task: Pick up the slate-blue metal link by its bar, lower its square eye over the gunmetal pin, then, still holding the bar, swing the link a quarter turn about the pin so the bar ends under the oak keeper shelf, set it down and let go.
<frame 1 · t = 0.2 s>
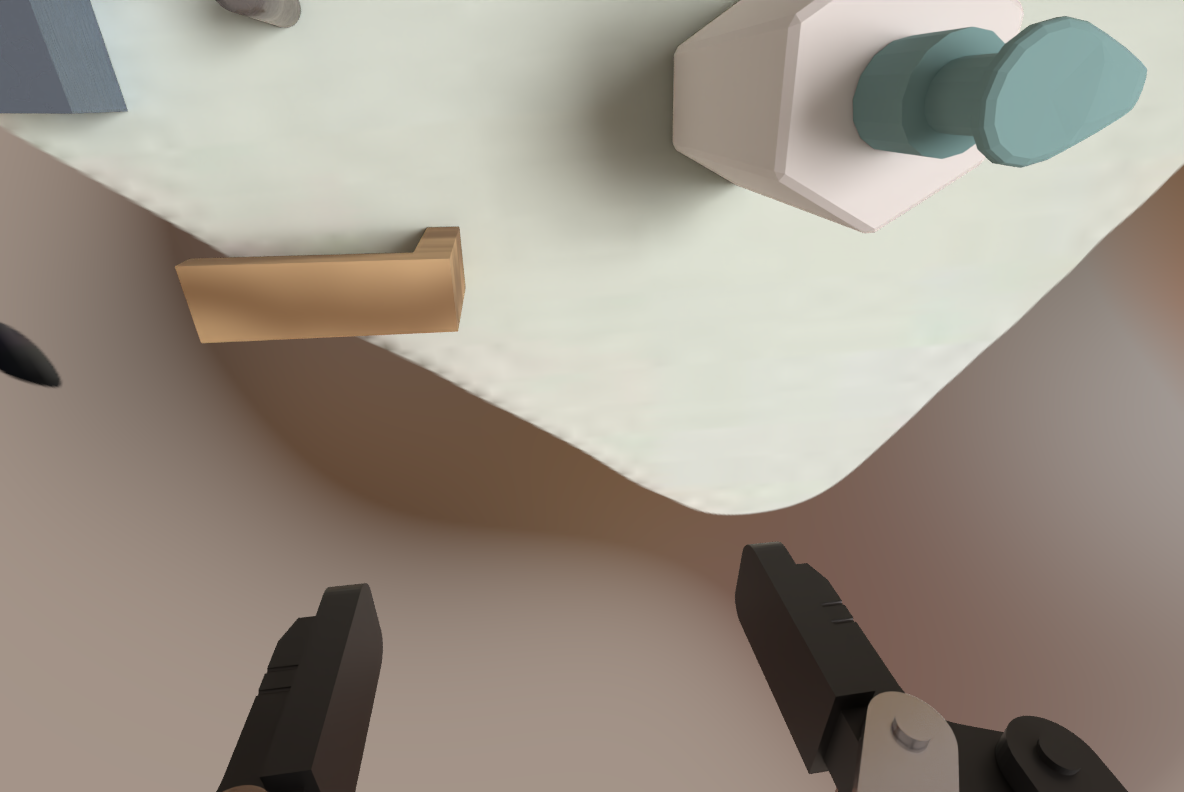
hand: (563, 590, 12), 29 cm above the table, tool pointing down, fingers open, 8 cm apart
soap bottle: (742, 95, 35), on the table
keeper: (343, 278, 32), on the table
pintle: (280, 4, 29), on the table
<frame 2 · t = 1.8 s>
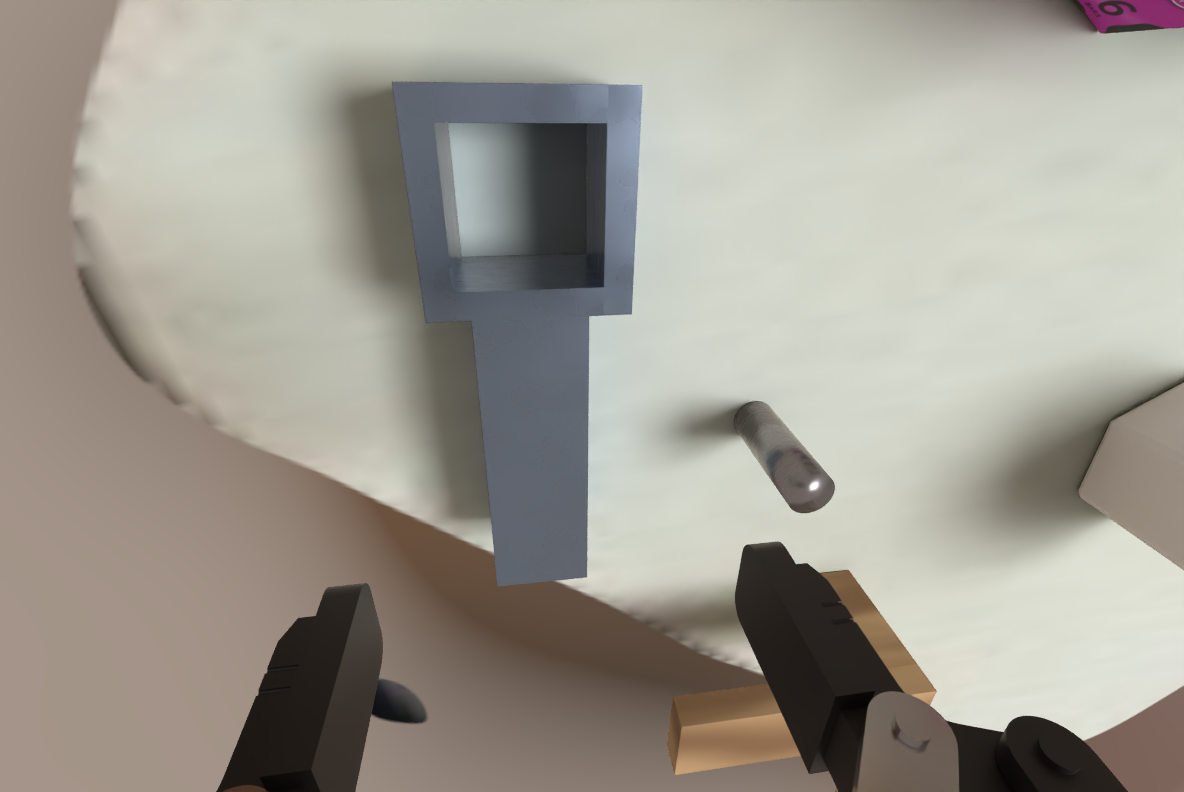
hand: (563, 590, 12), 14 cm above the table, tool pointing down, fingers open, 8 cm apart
link: (528, 336, 24), on the table
soap bottle: (1154, 446, 33), on the table
keeper: (771, 661, 31), on the table
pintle: (753, 418, 28), on the table
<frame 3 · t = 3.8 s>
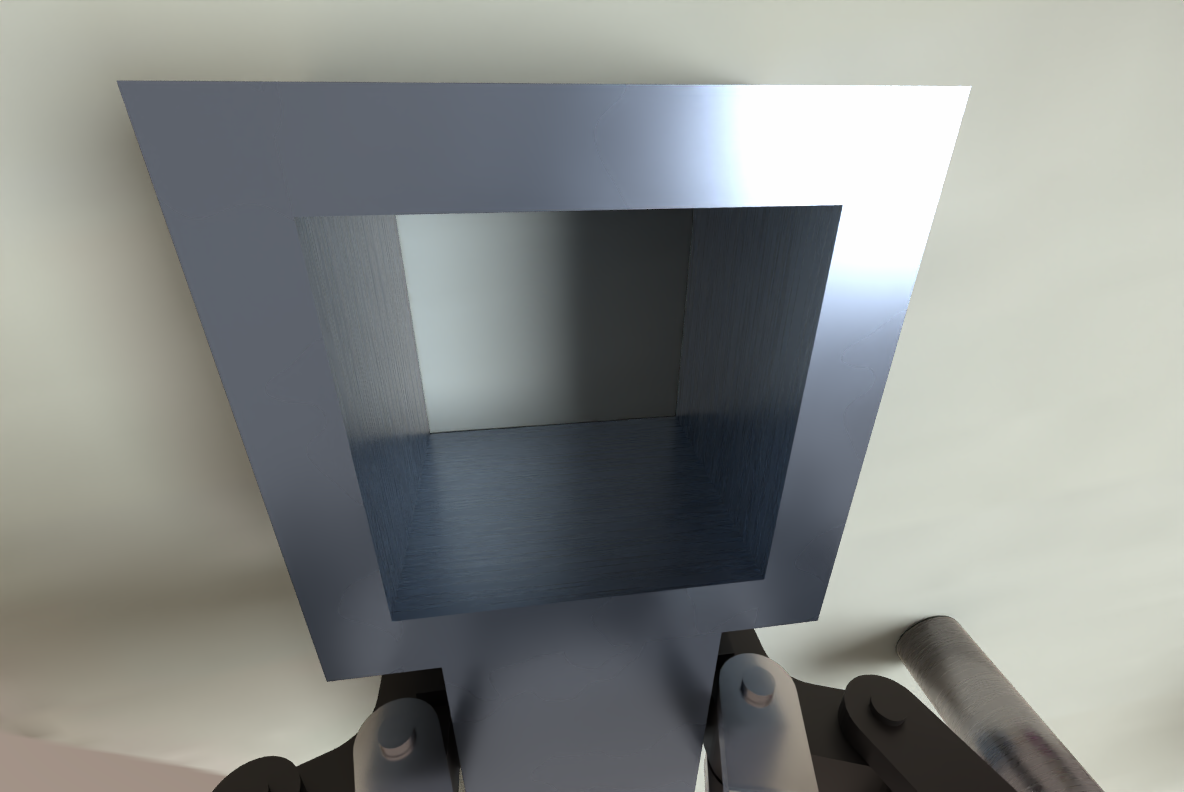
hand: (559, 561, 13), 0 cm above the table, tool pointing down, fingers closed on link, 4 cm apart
link: (560, 553, 13), on the table, touching gripper
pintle: (927, 639, 17), on the table
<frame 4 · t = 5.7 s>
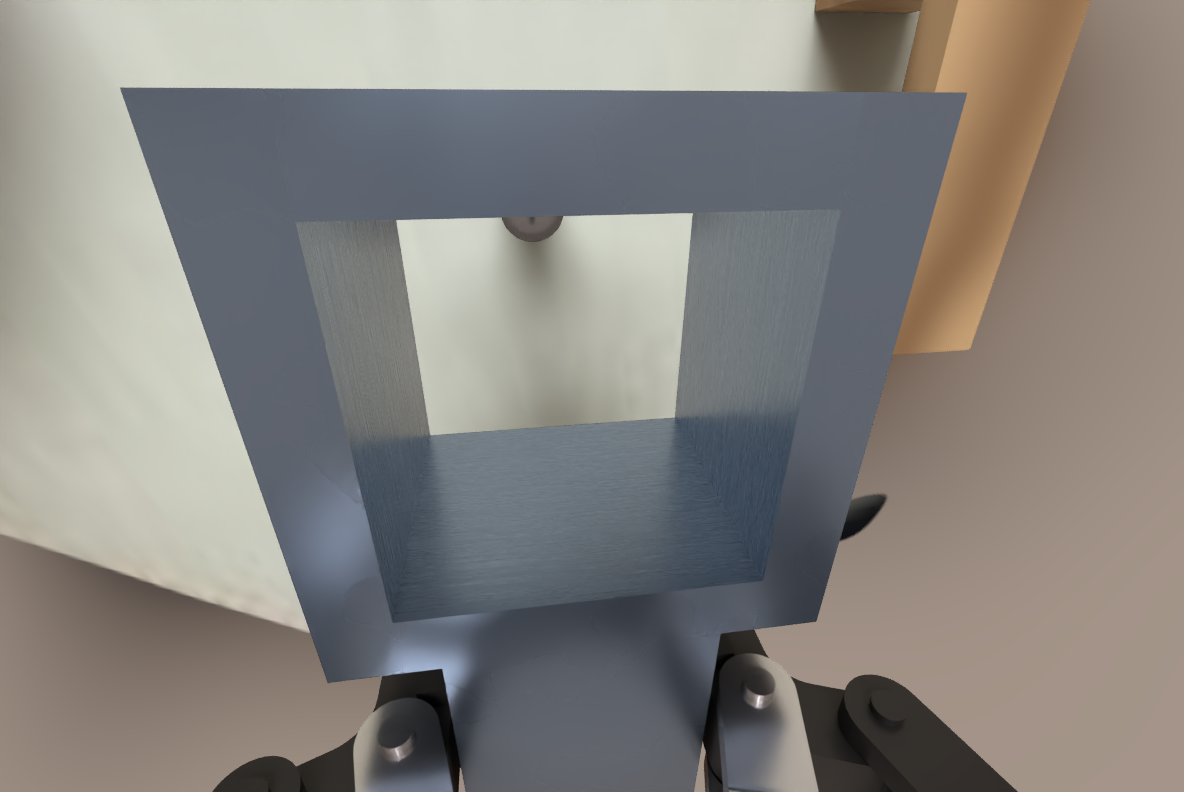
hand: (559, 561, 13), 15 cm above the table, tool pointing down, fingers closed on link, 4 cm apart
link: (559, 553, 13), point 15 cm above the table, touching gripper
keeper: (896, 146, 20), on the table
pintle: (524, 183, 23), on the table
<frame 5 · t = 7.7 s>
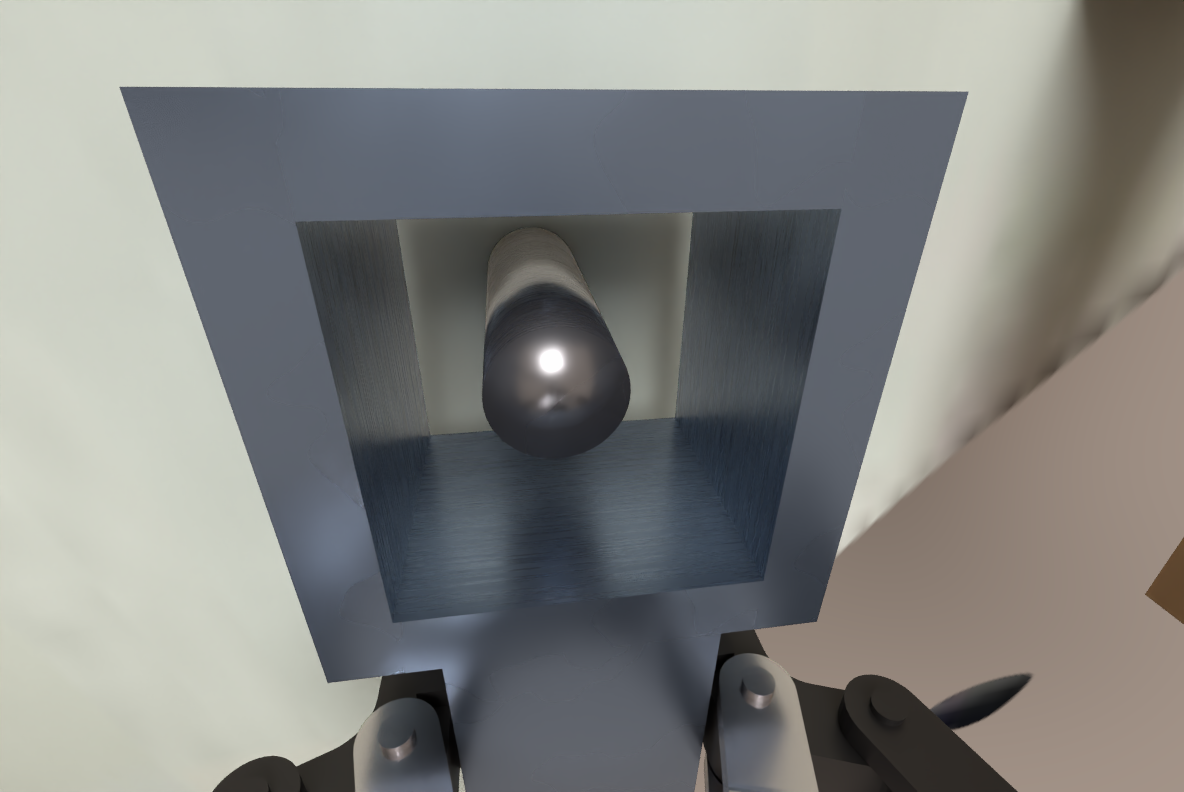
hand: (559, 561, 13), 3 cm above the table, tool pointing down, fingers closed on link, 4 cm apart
link: (560, 553, 13), point 3 cm above the table, touching gripper
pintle: (532, 272, 13), on the table
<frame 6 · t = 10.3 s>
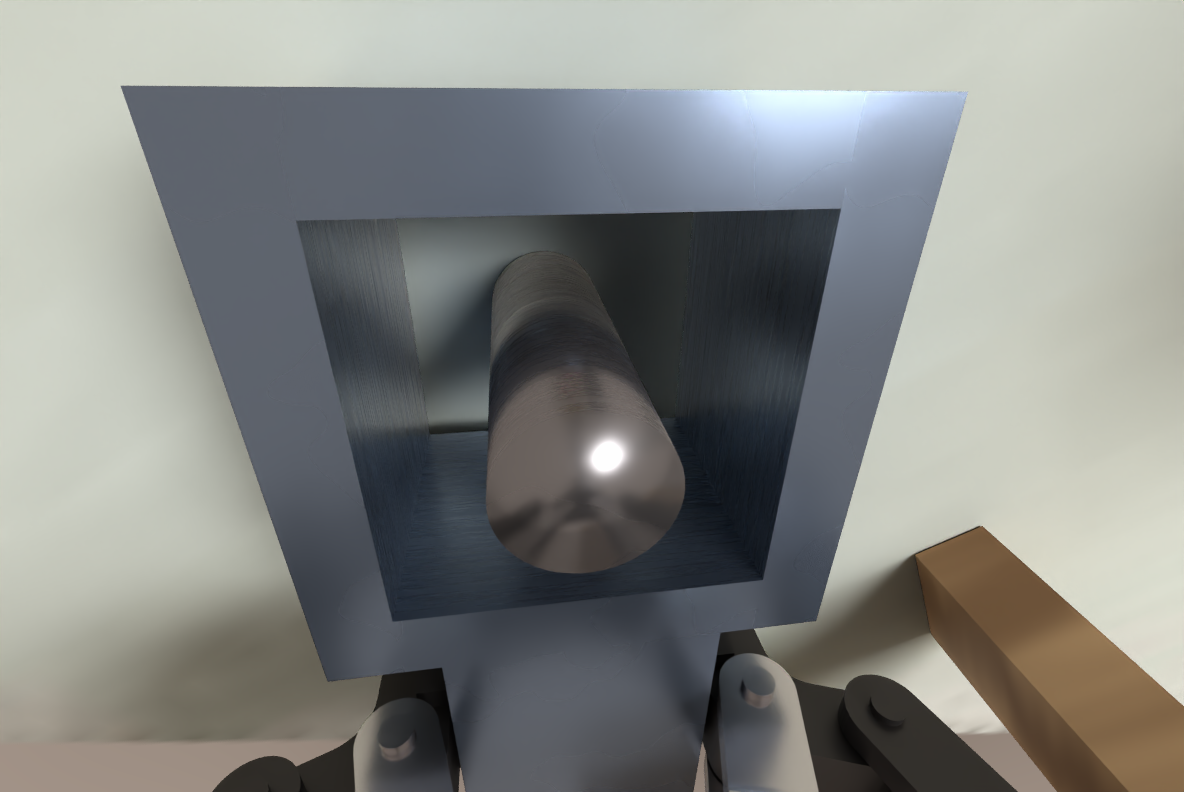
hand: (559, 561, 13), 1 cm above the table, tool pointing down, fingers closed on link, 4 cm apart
link: (559, 553, 13), point 1 cm above the table, touching gripper
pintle: (544, 303, 11), on the table
when the fingers open (0 cm above the table, at t = 11.9 s): link stays where it is, on the table.
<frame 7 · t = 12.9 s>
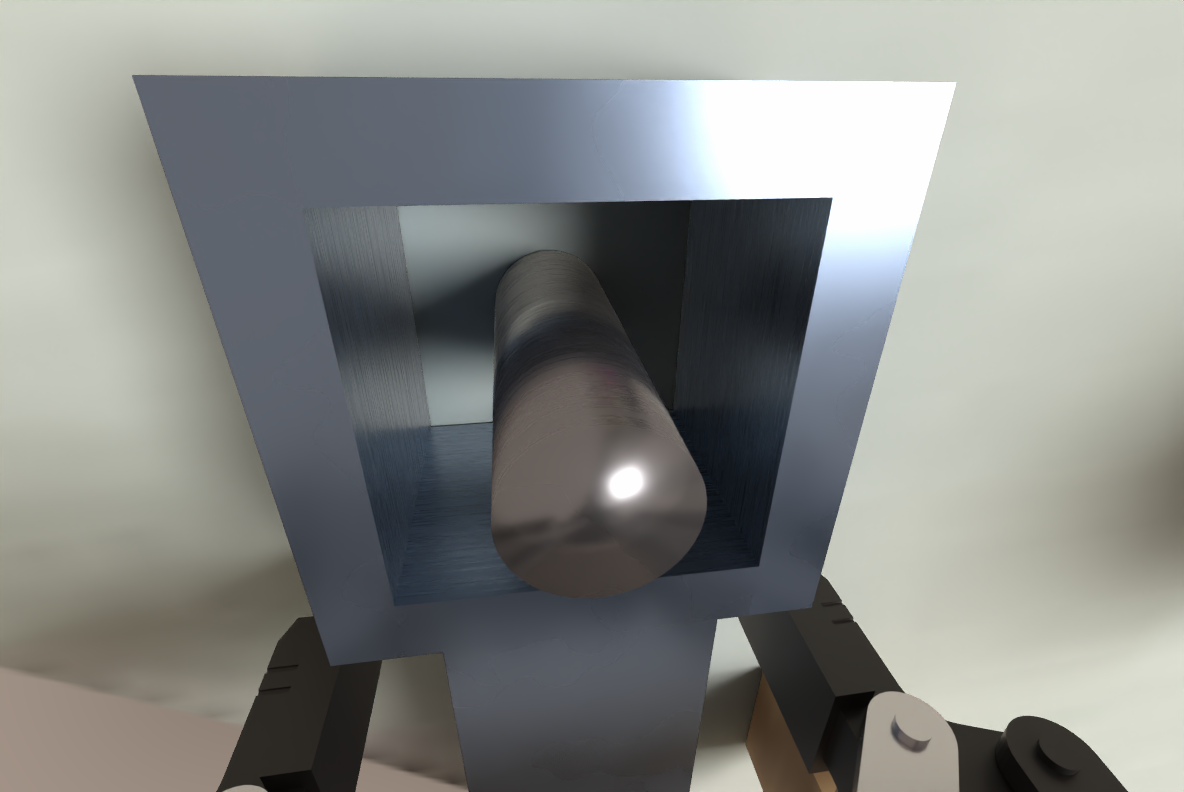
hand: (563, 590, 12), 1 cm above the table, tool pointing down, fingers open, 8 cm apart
link: (559, 545, 13), on the table
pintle: (549, 304, 10), on the table
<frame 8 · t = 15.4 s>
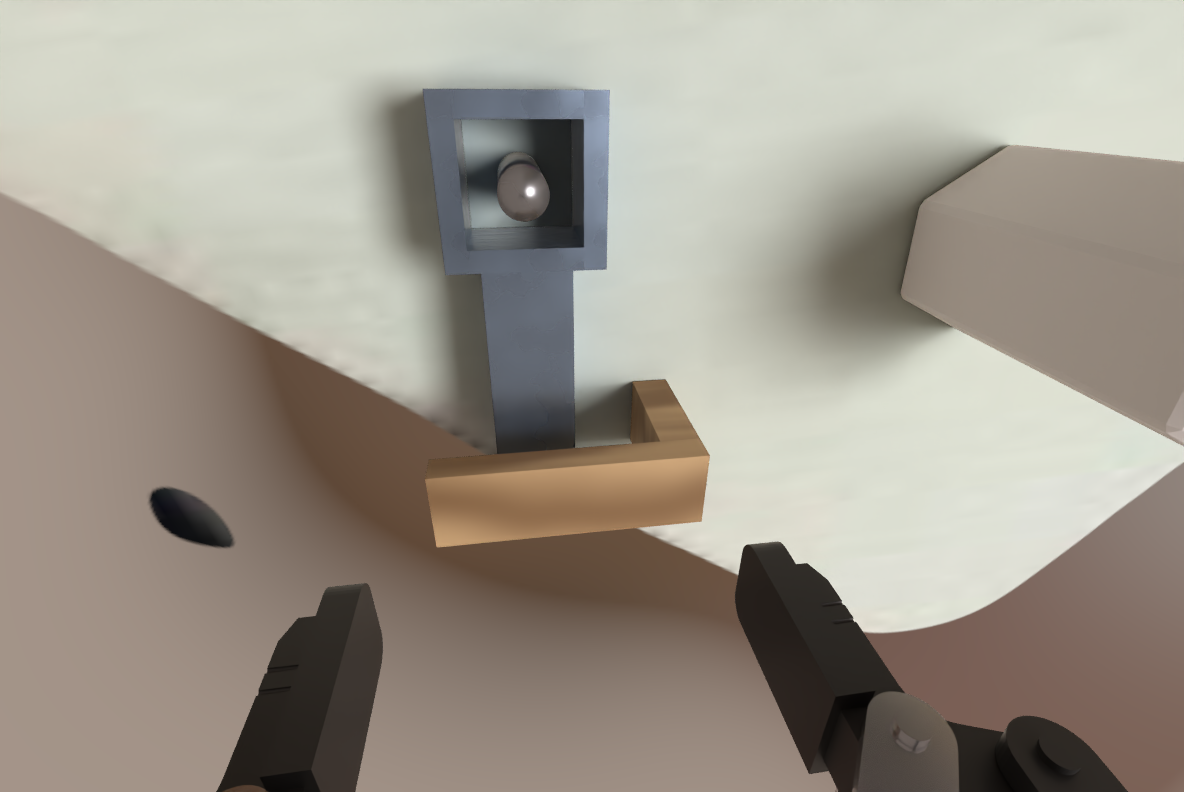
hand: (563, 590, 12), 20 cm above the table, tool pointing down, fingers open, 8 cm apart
link: (526, 295, 30), on the table
soap bottle: (977, 242, 32), on the table
keeper: (564, 453, 30), on the table
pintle: (518, 174, 27), on the table
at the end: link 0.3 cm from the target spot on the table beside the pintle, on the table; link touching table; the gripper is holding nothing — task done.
